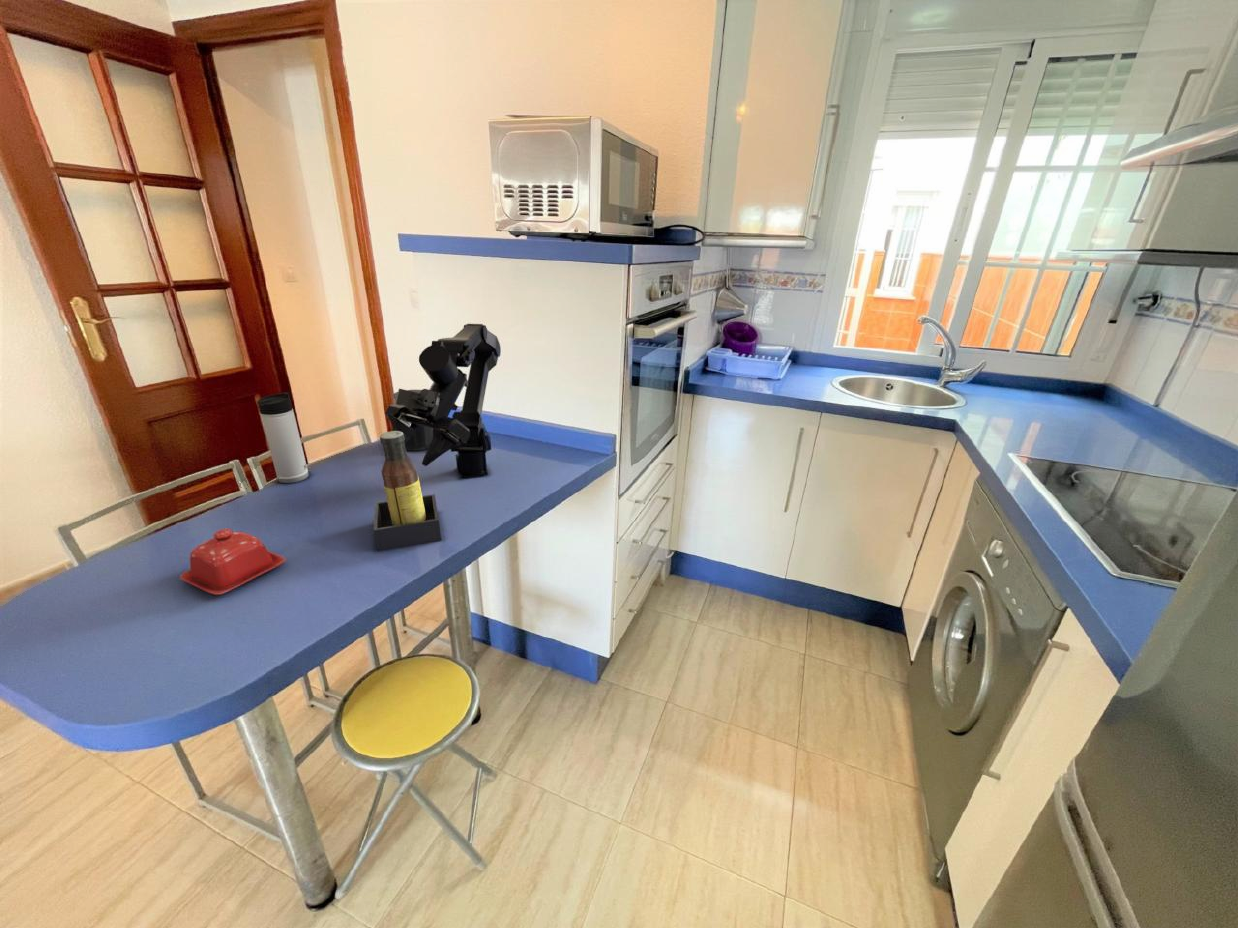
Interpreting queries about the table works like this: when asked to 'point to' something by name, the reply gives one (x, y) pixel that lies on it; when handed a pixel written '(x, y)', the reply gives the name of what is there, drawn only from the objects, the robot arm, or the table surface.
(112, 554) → the table surface
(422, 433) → the milk frother
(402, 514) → the sauce bottle
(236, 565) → the butter dish
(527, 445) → the table surface
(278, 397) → the travel mug
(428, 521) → the bin
